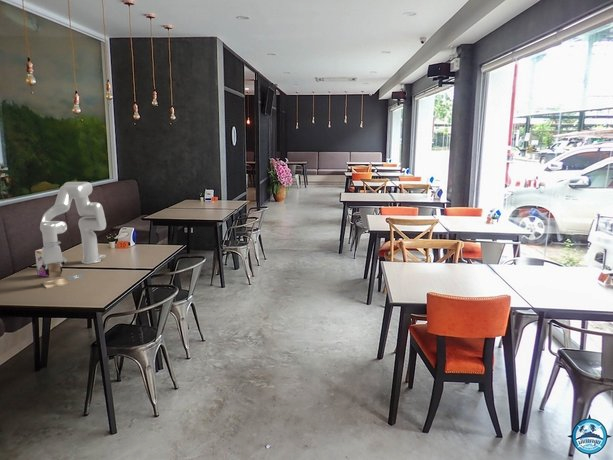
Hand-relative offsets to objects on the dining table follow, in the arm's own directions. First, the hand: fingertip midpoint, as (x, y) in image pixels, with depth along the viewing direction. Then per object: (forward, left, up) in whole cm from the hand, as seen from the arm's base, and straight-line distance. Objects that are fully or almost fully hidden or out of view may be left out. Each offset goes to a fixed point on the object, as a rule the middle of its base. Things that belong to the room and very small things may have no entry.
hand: (54, 273), depth 281 cm
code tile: (-13, -7, -6) cm, 16 cm away
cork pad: (0, 0, -6) cm, 6 cm away
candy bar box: (0, -22, -6) cm, 23 cm away
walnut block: (0, 0, -1) cm, 1 cm away
